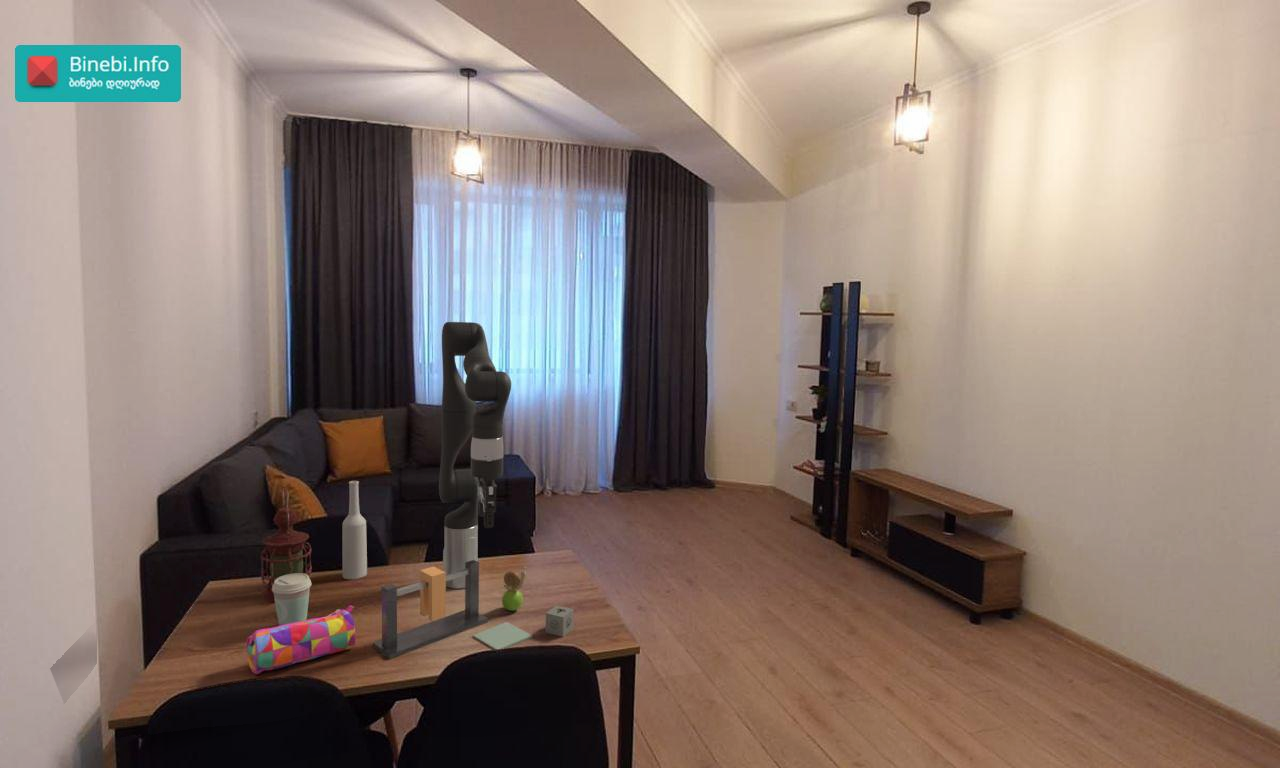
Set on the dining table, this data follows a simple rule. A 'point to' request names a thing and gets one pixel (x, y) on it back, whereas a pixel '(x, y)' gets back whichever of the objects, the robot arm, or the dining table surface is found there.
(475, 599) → the rail stand
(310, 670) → the dining table surface
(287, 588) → the coffee cup
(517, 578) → the snail figurine
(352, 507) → the bottle
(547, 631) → the dice cube
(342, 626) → the pencil case
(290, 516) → the lantern
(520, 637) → the felt mat
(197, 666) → the dining table surface
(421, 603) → the c link
